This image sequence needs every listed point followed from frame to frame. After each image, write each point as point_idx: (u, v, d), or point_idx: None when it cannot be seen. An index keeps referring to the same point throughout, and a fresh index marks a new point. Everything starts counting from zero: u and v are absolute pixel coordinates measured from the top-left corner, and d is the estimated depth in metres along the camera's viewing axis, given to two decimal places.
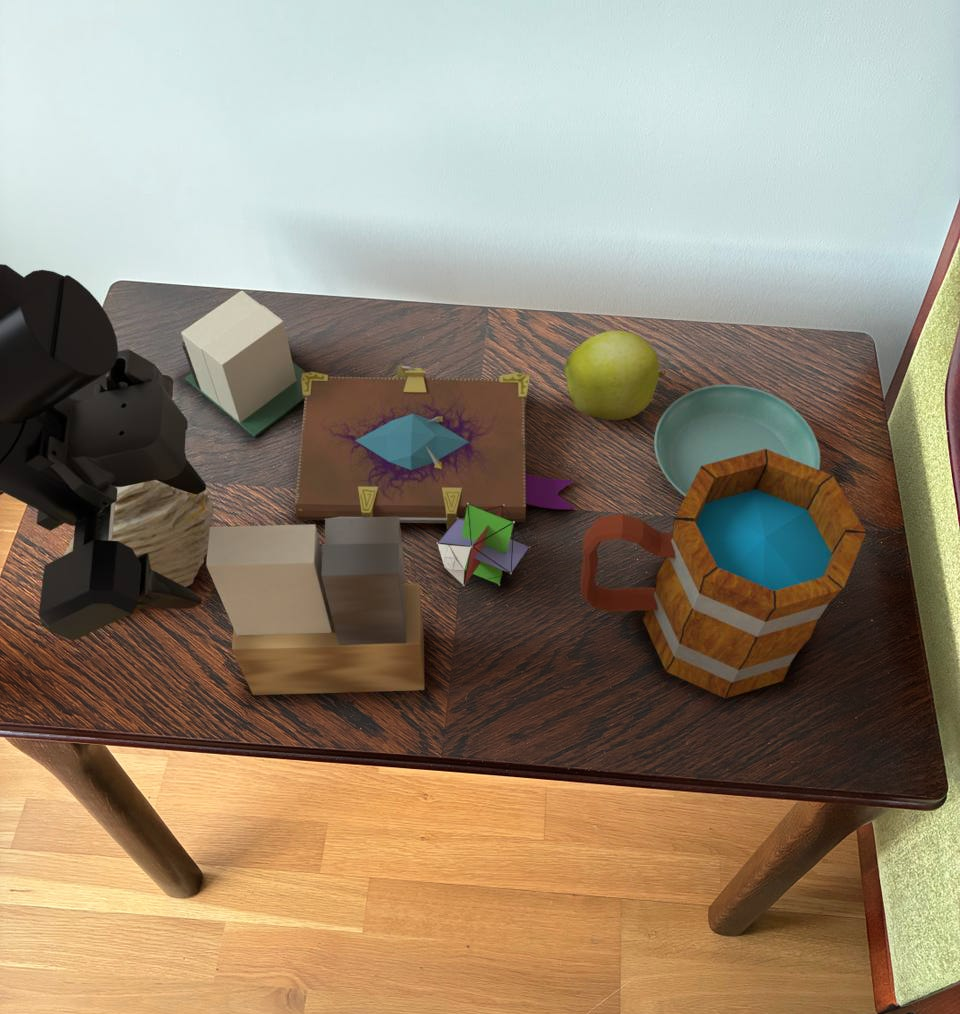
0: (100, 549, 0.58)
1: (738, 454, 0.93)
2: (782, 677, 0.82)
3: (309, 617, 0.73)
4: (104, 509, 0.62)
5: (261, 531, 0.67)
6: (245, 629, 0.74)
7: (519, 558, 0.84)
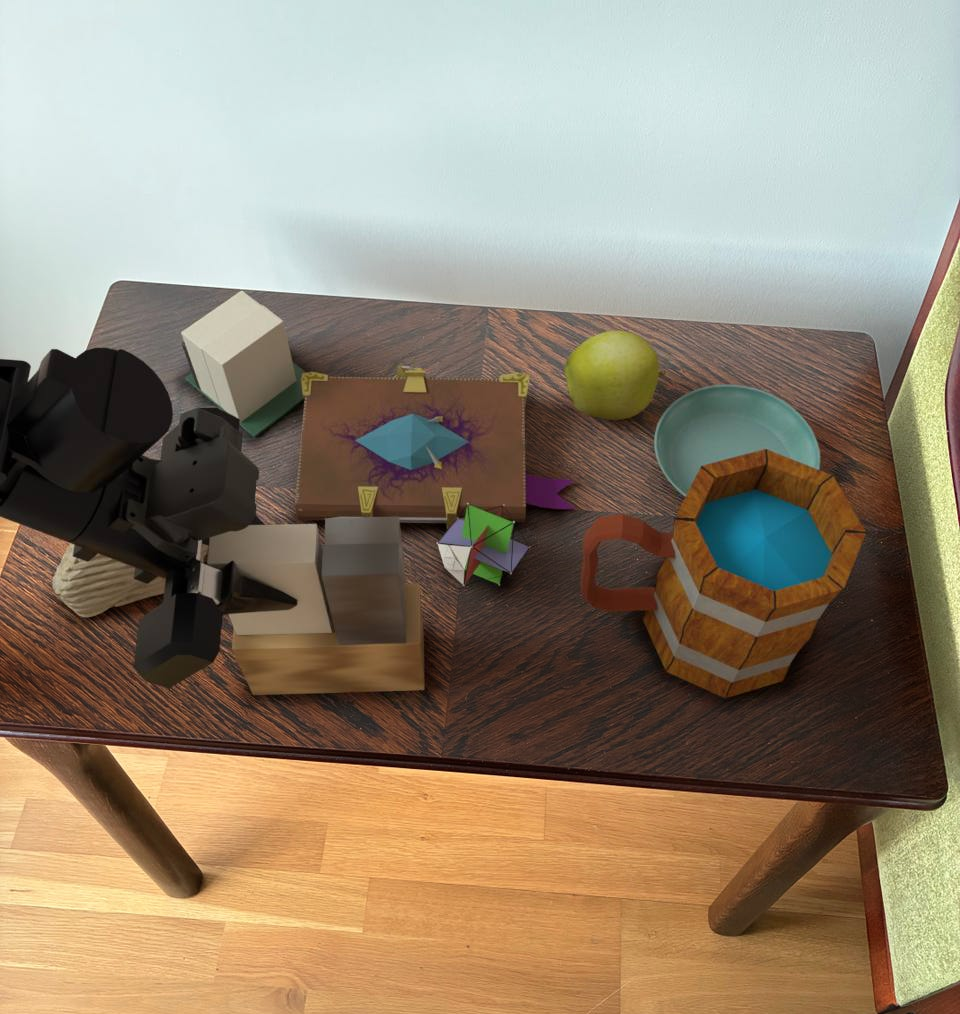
0: (181, 602, 0.61)
1: (738, 454, 0.93)
2: (782, 677, 0.82)
3: (309, 617, 0.73)
4: (191, 561, 0.64)
5: (262, 530, 0.67)
6: (246, 628, 0.74)
7: (519, 558, 0.84)
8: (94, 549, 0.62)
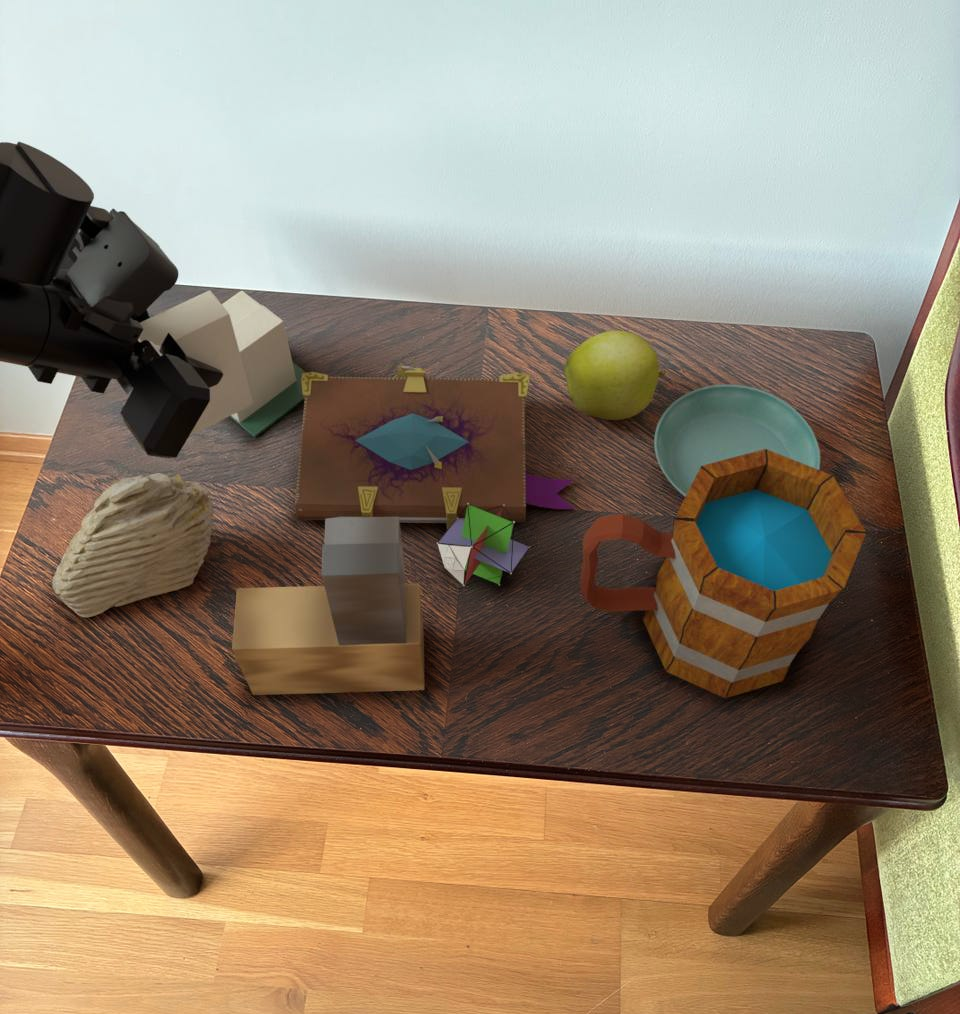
0: (157, 365, 0.69)
1: (738, 454, 0.93)
2: (782, 677, 0.82)
3: (234, 390, 0.82)
4: (135, 348, 0.72)
5: (170, 313, 0.75)
6: None
7: (519, 558, 0.84)
8: (58, 359, 0.68)
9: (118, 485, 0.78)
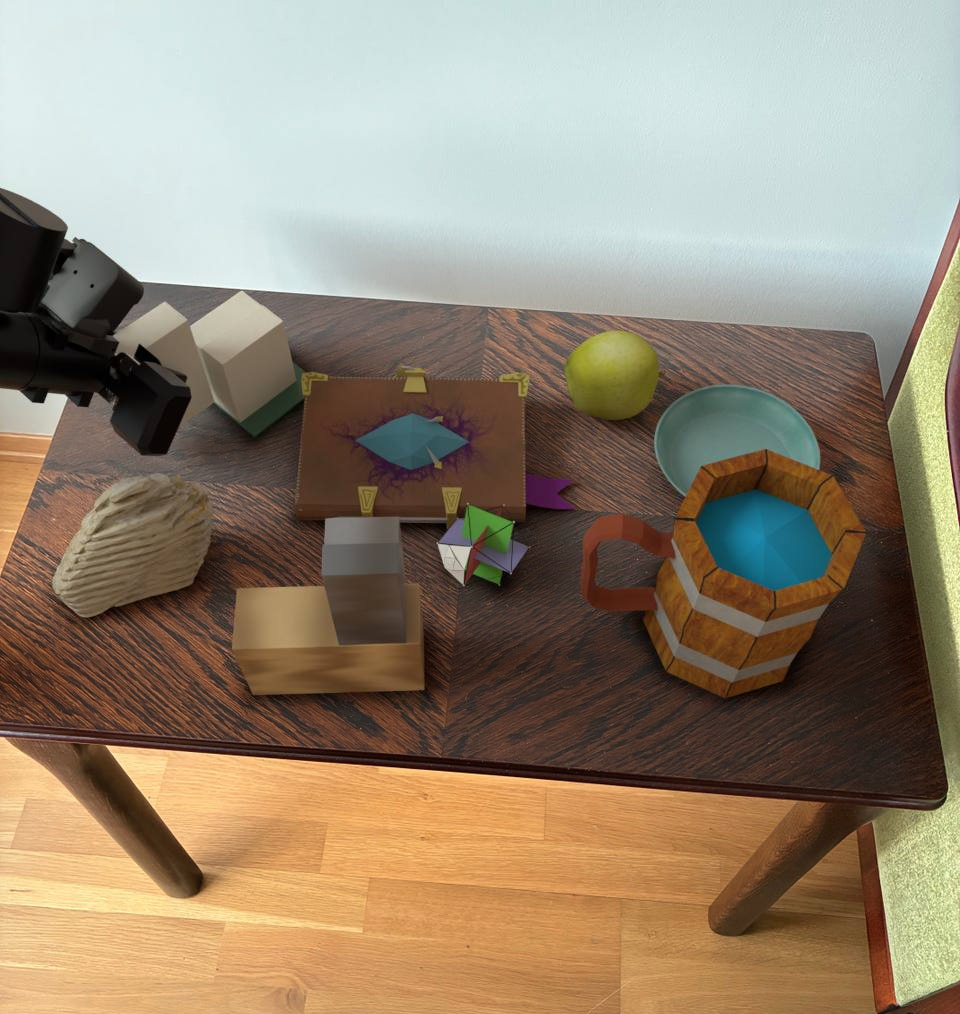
0: (139, 372, 0.76)
1: (738, 454, 0.93)
2: (782, 677, 0.82)
3: (197, 391, 0.89)
4: (112, 361, 0.79)
5: (133, 327, 0.82)
6: None
7: (519, 558, 0.84)
8: (49, 379, 0.74)
9: (118, 485, 0.78)
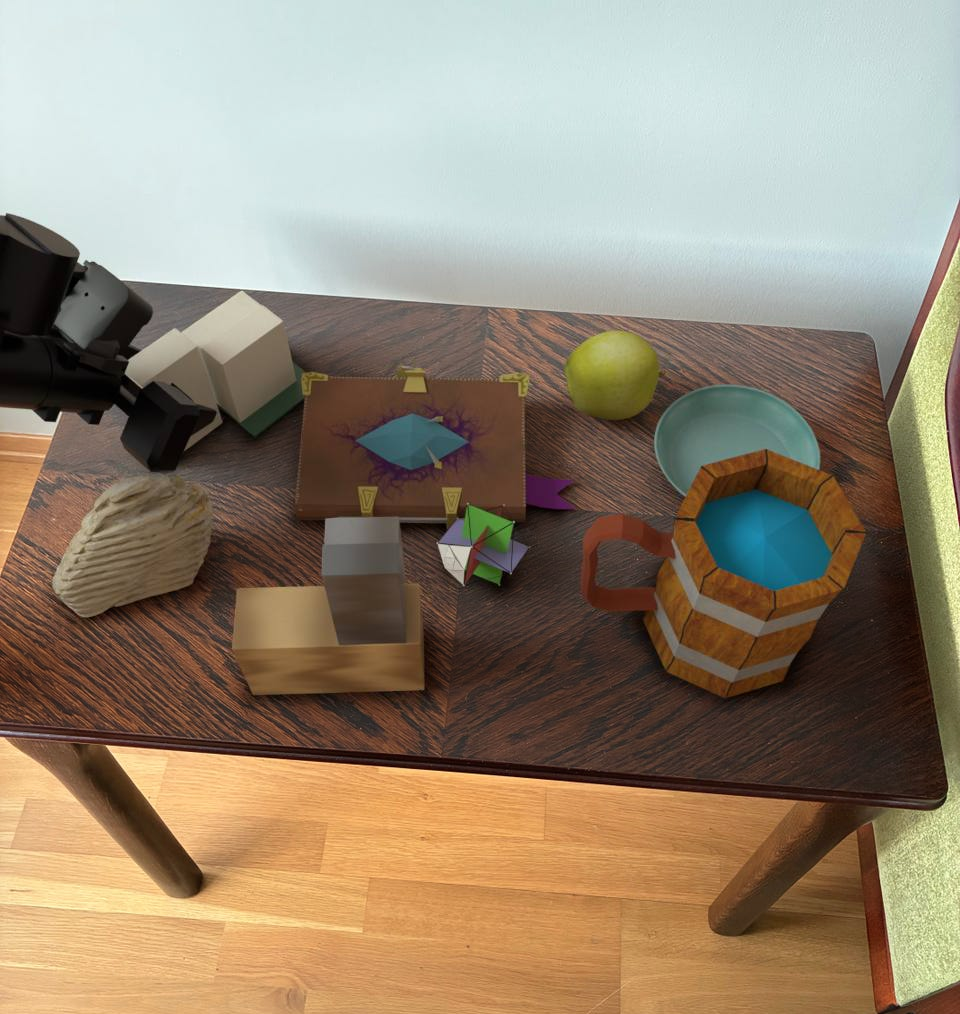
0: (149, 391, 0.78)
1: (738, 454, 0.93)
2: (782, 677, 0.82)
3: None
4: (122, 380, 0.81)
5: (144, 353, 0.85)
6: None
7: (519, 558, 0.84)
8: (61, 399, 0.76)
9: (118, 485, 0.78)
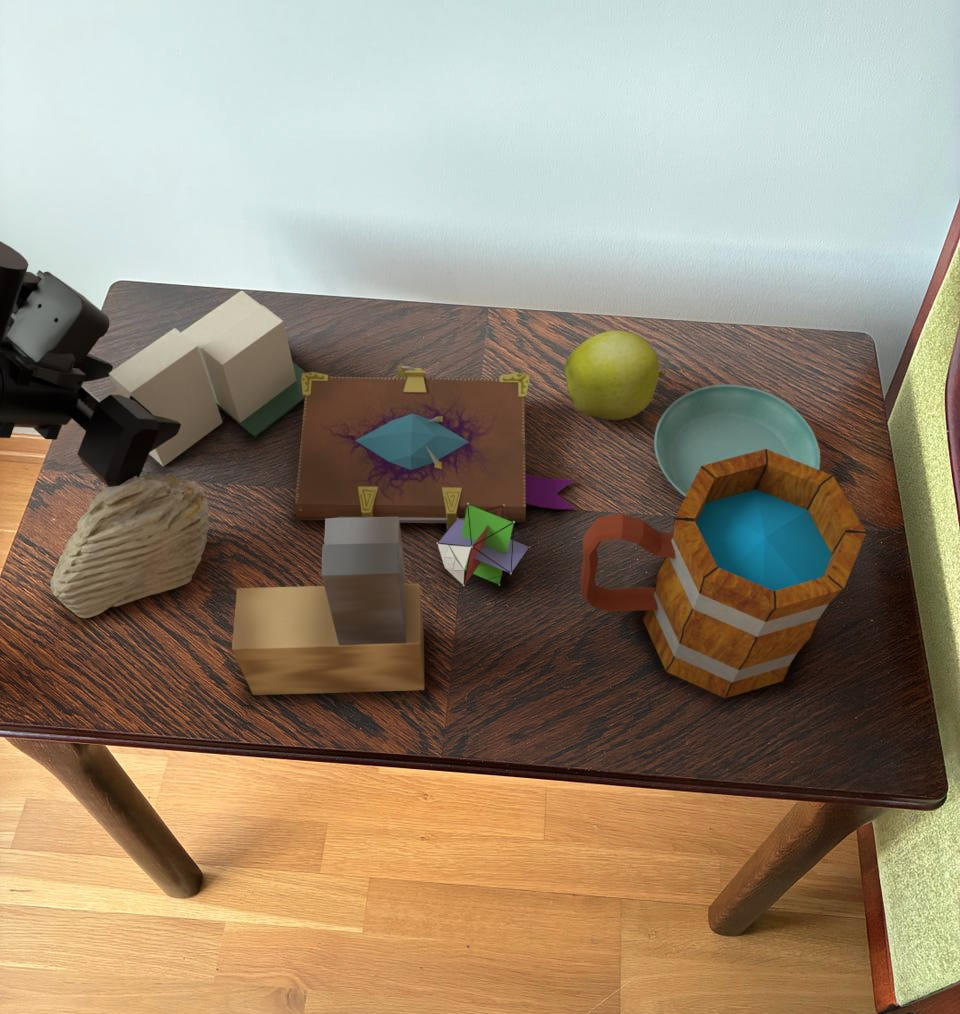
0: (106, 405, 0.76)
1: (738, 454, 0.93)
2: (782, 677, 0.82)
3: (205, 413, 0.92)
4: (79, 393, 0.78)
5: (144, 353, 0.85)
6: (168, 454, 0.91)
7: (519, 558, 0.84)
8: (14, 414, 0.74)
9: (112, 487, 0.77)
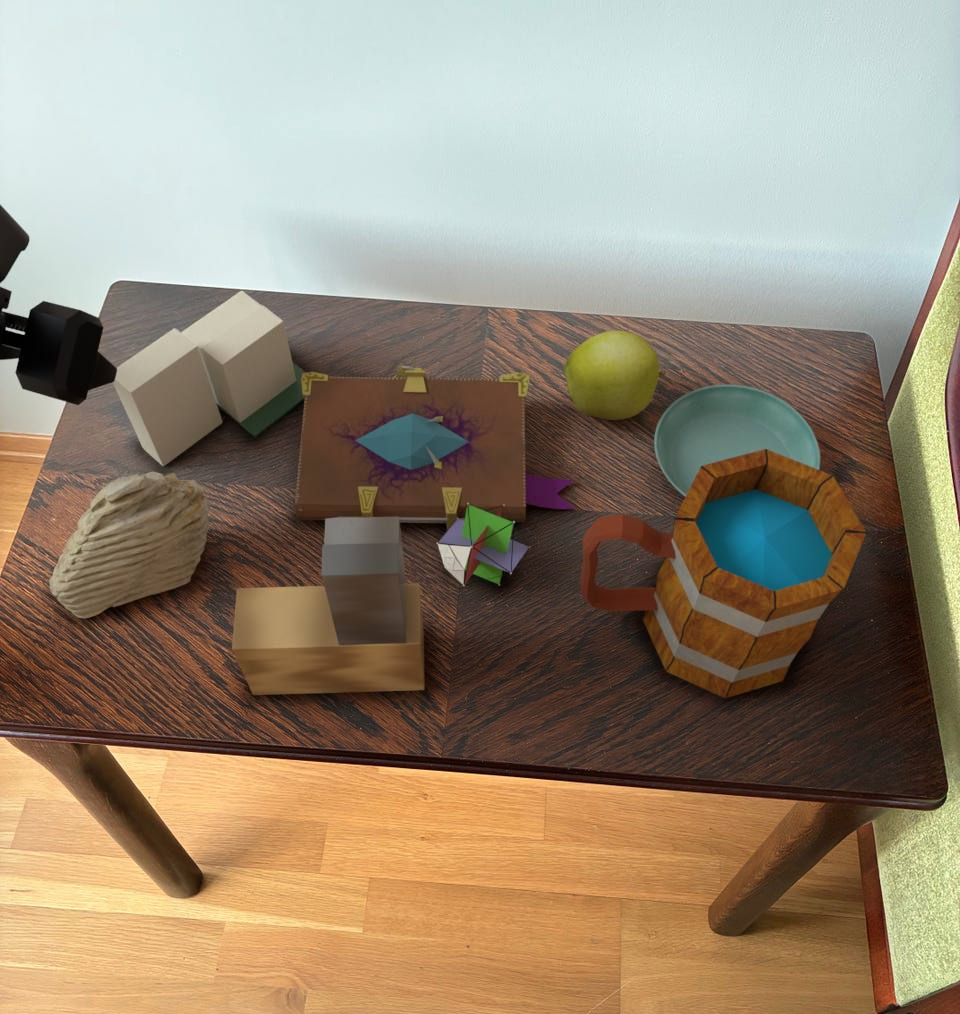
0: (41, 308, 0.69)
1: (738, 454, 0.93)
2: (782, 677, 0.82)
3: (205, 413, 0.92)
4: (6, 320, 0.71)
5: (144, 353, 0.85)
6: (168, 454, 0.91)
7: (519, 558, 0.84)
8: None
9: (114, 484, 0.78)
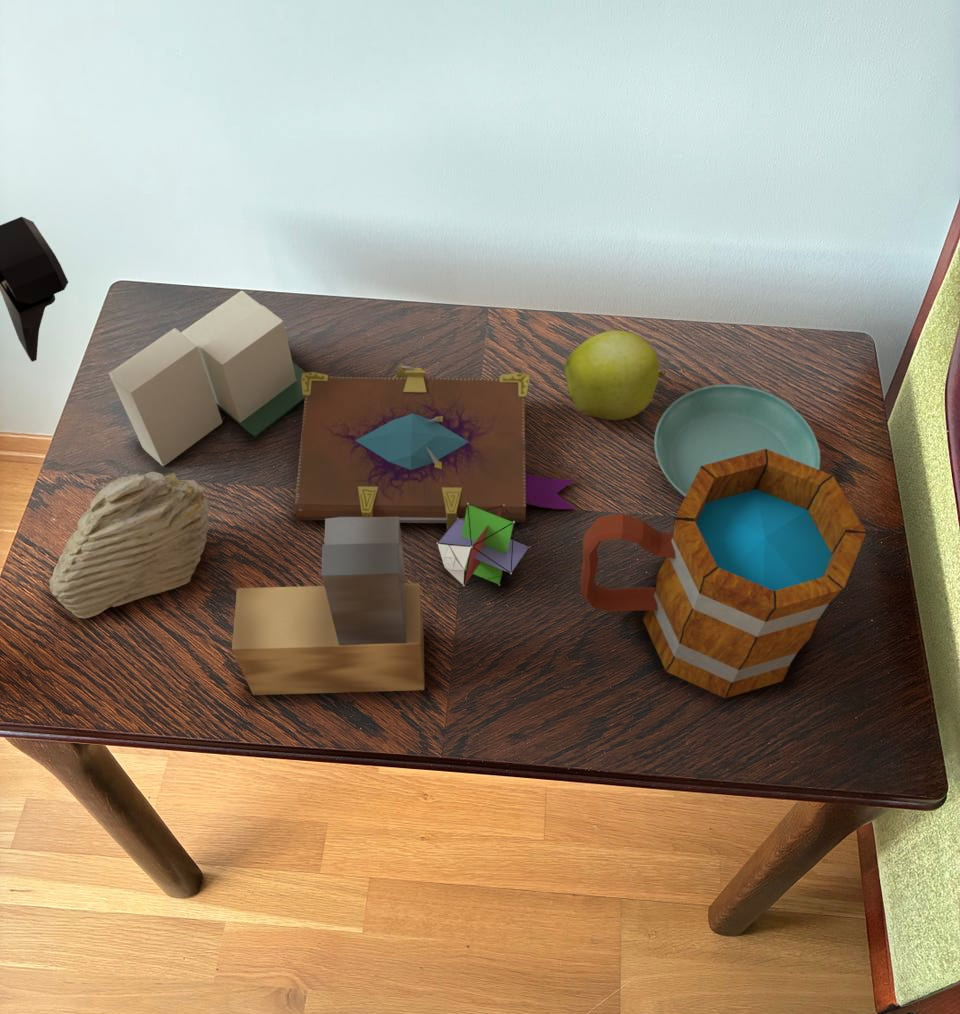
0: None
1: (738, 454, 0.93)
2: (782, 677, 0.82)
3: (205, 413, 0.92)
4: None
5: (144, 353, 0.85)
6: (168, 454, 0.91)
7: (519, 558, 0.84)
8: None
9: (114, 484, 0.78)
